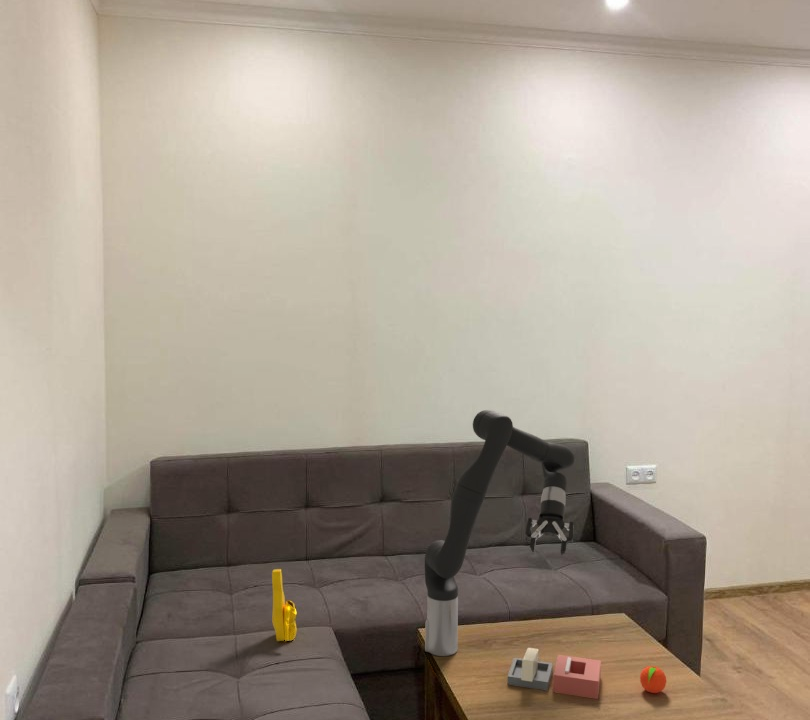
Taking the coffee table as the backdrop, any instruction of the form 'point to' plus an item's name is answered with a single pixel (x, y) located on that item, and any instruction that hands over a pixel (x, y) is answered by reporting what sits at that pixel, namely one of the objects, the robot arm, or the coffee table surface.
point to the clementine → (653, 679)
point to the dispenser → (577, 676)
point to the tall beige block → (529, 664)
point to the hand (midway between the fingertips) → (547, 552)
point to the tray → (540, 677)
